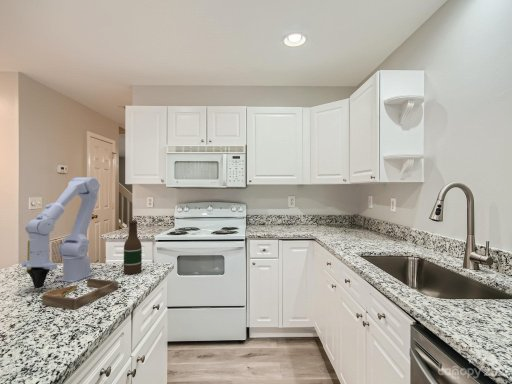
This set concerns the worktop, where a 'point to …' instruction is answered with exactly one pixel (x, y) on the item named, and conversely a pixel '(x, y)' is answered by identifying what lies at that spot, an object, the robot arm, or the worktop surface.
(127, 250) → the beer bottle
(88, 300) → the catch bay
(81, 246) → the robot arm
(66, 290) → the shard
